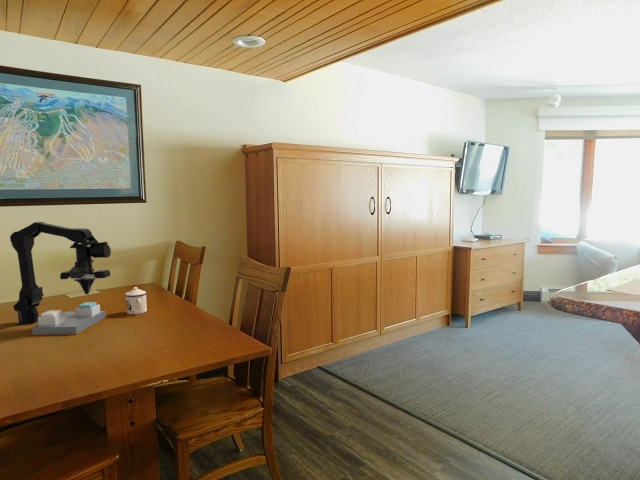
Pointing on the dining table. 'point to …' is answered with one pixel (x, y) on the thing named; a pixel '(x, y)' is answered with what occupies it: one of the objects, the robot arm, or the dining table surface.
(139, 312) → the teacup with lid
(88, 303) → the teal key
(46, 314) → the cream key
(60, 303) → the dining table surface
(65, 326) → the grey rectangular board
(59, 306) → the dining table surface
